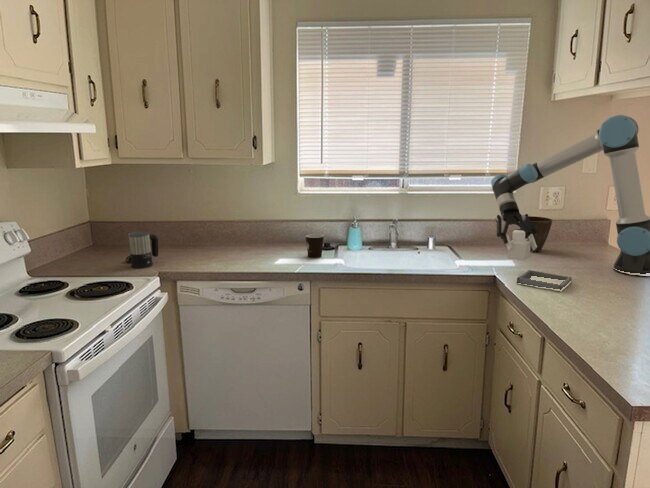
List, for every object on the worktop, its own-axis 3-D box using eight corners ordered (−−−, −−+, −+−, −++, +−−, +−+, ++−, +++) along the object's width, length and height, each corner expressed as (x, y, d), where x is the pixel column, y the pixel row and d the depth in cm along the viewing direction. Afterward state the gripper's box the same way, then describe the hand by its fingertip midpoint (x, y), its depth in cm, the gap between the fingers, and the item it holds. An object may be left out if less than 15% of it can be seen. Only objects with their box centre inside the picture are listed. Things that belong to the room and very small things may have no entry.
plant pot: (543, 247, 248) (546, 216, 244) (553, 254, 233) (557, 221, 230) (513, 246, 249) (515, 216, 246) (521, 253, 235) (524, 221, 231)
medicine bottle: (512, 255, 209) (514, 227, 207) (530, 257, 205) (532, 229, 202) (507, 258, 204) (508, 230, 201) (524, 260, 200) (526, 232, 197)
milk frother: (145, 269, 211) (142, 235, 208) (113, 267, 214) (109, 234, 211) (162, 261, 225) (160, 229, 221) (131, 259, 228) (128, 228, 224)
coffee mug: (323, 258, 228) (323, 237, 225) (305, 258, 228) (304, 237, 226) (324, 252, 239) (324, 232, 237) (306, 252, 239) (306, 232, 237)
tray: (571, 283, 189) (571, 277, 188) (560, 292, 179) (561, 285, 178) (528, 275, 199) (529, 270, 198) (516, 283, 189) (517, 277, 188)
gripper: (529, 210, 217) (545, 252, 205) (480, 211, 215) (493, 255, 203) (536, 199, 210) (552, 243, 198) (485, 201, 209) (499, 245, 197)
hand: (522, 249), depth 201 cm, fingers closed on medicine bottle, 10 cm apart
